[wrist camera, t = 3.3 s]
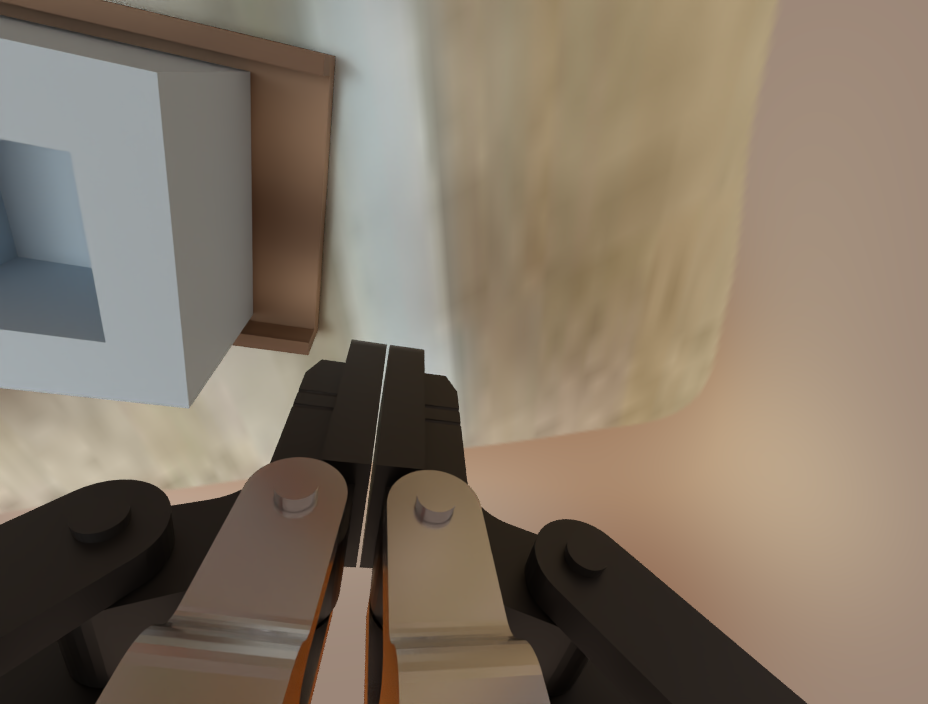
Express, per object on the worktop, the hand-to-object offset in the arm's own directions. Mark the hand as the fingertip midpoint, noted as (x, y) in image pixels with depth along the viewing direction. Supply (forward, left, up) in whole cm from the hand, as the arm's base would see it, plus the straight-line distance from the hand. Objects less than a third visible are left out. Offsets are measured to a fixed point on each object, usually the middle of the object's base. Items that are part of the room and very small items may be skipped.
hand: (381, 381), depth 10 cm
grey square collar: (0, -10, -10) cm, 14 cm away
